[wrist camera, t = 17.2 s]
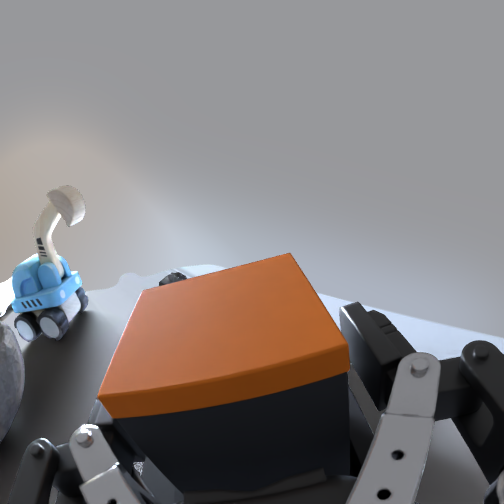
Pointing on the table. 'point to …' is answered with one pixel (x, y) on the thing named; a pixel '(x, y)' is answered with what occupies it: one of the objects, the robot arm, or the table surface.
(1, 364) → the bowl
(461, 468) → the table surface
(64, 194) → the toy excavator
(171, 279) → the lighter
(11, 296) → the stone
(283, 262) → the black and orange block
